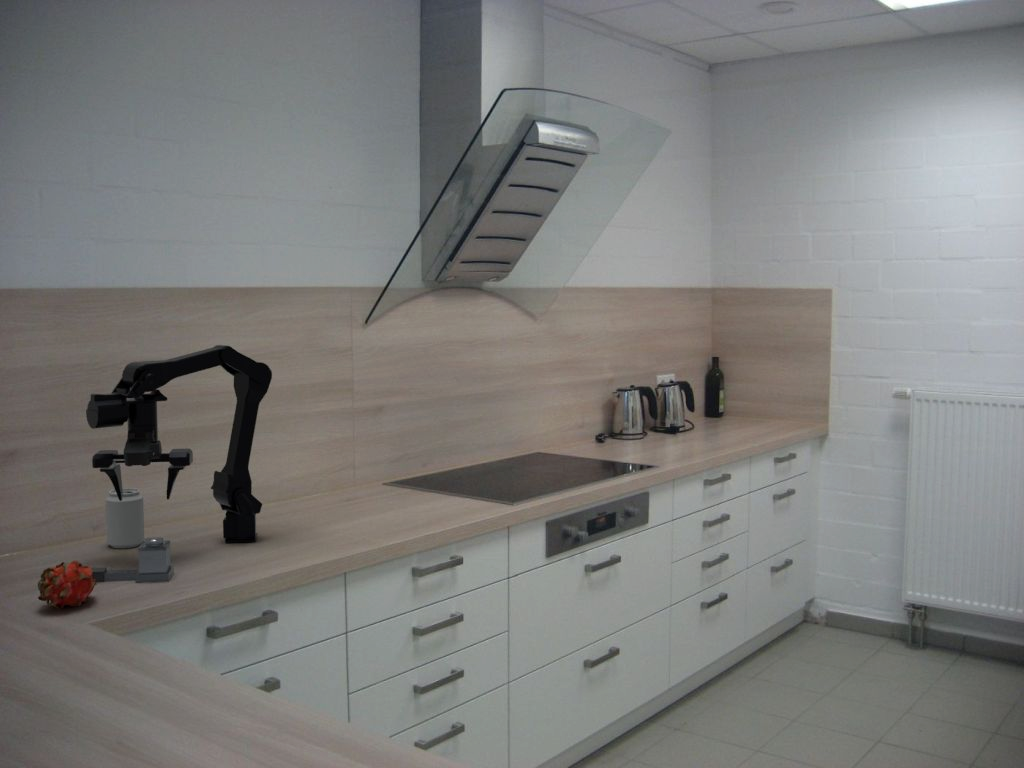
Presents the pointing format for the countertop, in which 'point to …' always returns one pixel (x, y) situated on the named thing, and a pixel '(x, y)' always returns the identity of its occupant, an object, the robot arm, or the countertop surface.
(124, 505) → the can
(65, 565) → the dragon fruit
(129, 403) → the robot arm
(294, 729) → the countertop surface
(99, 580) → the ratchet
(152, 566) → the dark grey block
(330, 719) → the countertop surface
